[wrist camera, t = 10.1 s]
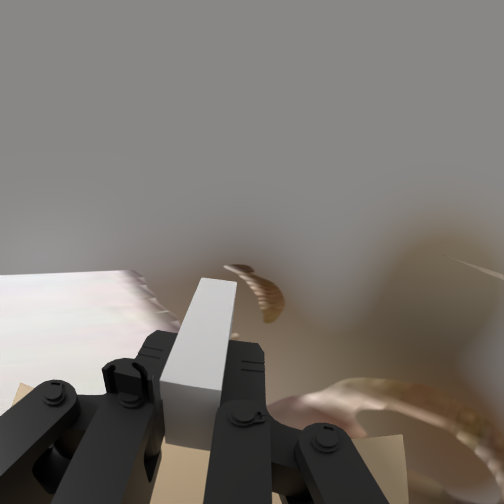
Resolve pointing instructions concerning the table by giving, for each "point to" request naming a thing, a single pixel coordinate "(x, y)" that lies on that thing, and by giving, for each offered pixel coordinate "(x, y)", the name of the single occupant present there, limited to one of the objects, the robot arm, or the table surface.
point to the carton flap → (194, 479)
